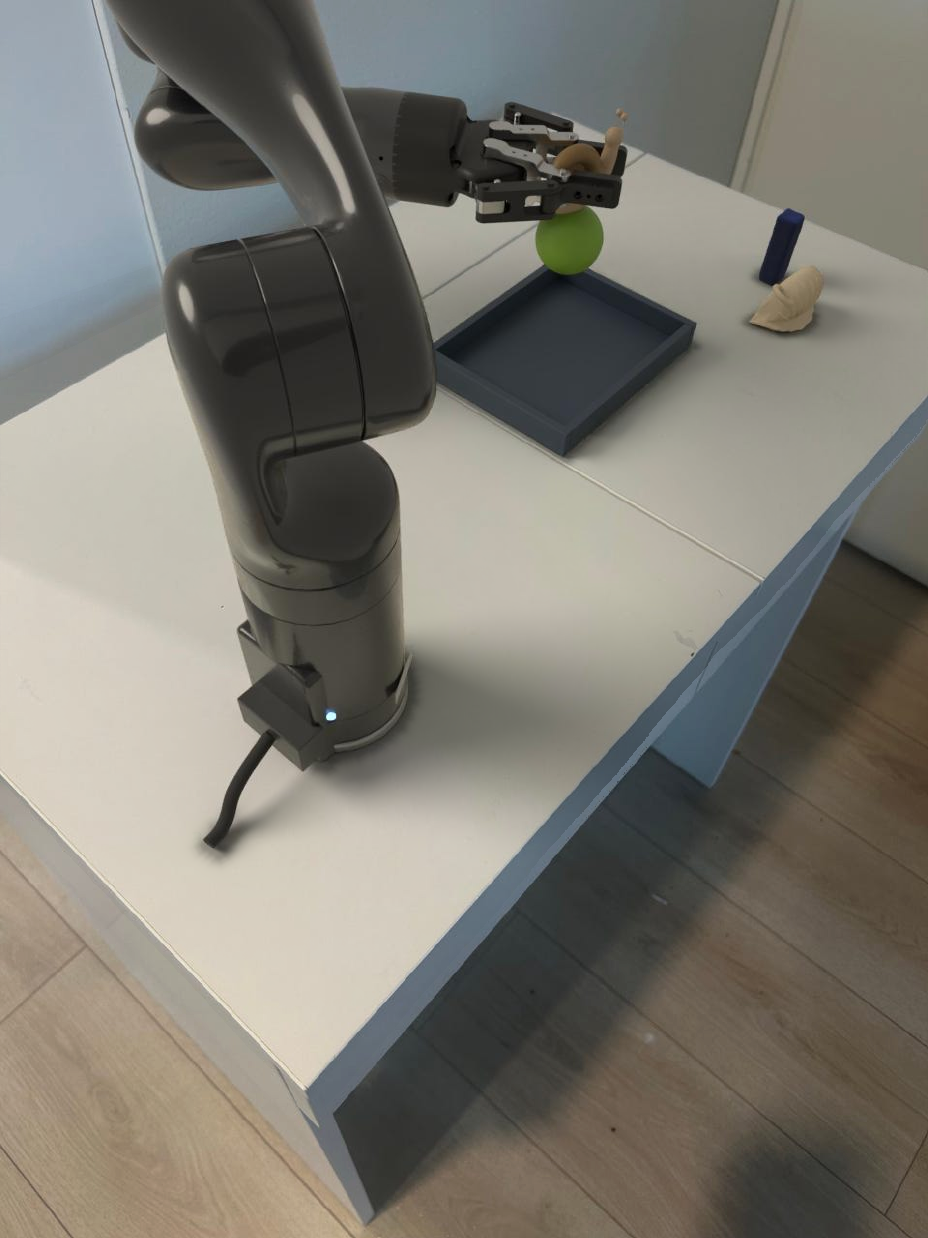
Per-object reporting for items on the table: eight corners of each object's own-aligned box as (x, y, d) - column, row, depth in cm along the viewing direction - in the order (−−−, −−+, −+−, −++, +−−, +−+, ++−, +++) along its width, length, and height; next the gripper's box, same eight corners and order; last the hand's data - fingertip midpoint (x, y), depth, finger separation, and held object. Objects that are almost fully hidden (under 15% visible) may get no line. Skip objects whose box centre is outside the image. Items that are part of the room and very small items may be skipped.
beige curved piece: (825, 313, 90) (845, 263, 86) (772, 349, 87) (790, 299, 83) (790, 293, 92) (808, 243, 88) (737, 327, 89) (753, 277, 84)
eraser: (766, 269, 94) (787, 205, 89) (786, 278, 93) (808, 214, 88) (755, 278, 93) (775, 214, 88) (774, 288, 93) (796, 224, 87)
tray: (562, 457, 78) (566, 435, 76) (422, 372, 84) (422, 349, 82) (691, 345, 87) (697, 322, 85) (556, 275, 93) (559, 252, 91)
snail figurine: (621, 272, 77) (647, 127, 67) (555, 296, 76) (572, 150, 66) (584, 237, 80) (604, 92, 70) (520, 259, 78) (531, 114, 68)
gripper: (375, 144, 65) (624, 179, 64) (419, 52, 73) (640, 80, 72) (379, 243, 71) (606, 276, 70) (419, 147, 79) (622, 175, 78)
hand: (621, 177), depth 71 cm, fingers closed on snail figurine, 3 cm apart
